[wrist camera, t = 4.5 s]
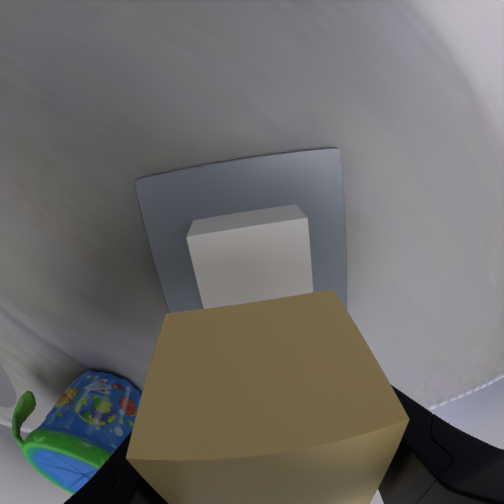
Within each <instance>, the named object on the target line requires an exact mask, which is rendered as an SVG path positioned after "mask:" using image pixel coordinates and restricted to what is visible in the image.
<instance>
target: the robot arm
mask: <svg viewBox="0 0 504 504" xmlns="http://www.w3.org/2000/svg"><path fill="white" fill-rule="evenodd" d="M390 385H391V384H390ZM391 386H392V385H391ZM392 388H393V390H394V392H395V394H396V395H397V397H398V399H399V401H400V403H401V404H402V406H403V408H404V410H405V412H406V414H407V415H408V417H409V422H408V424H407V427H406V429H405V432H404V434H403V437H402V439H401V441H400V444H399V446H398V448H397V450H396V453H395V455H394V457H393V459H392V461H391V463H390V465H389V468H388V470H387V472H386V474H385V476H384V478H383V480H382V481H381V483H380V485H379V487H378V490H379V492H380V494H381V497H382V500H383V502H384V504H504V450H503V449H499V448H497V447H494V446H492V445H490V444H488V443H485V442H483V441H481V440H479V439H477V438H475V437H473V436H471V435H469V434H467V433H465V432H463V431H461V430H459V429H457V428H455V427H453V426H451V425H450V424H449V423H447V422H445V421H444V420H442V419H441V418H439V417H438V416H436V415H435V414H432V413H431V412H430V411H429V410H427V409H426V408H424V407H423V406H421V405H420V404H418V403H417V402H415V401H414V400H412V399H411V398H409V397H408V396H407V395H405V394H404V393H402V392H401V391H399V390H398V389H396V388H395V387H393V386H392ZM132 430H133V429H132ZM131 434H132V431H131V432H130V433H129V434H128V435H127V437H126V438H125V439H124V440H123V441H122V443H121V444H120V445H119V446H118V447H117V449H116V450H115V451H114V452H113V453H112V455H111V456H110V457H109V458H108V460H106V462H105V463H104V464H103V465H102V466H101V468H100V469H99V470H98V471H97V472H96V473H95V474H94V475H93V476H92V478H91V479H90V480H89V481H88V482H86V483H85V484H84V485H83V486H82V487H81V488H80V489H79V490H78V491H77V492H76V493H75V494H74V495H73V496H71V497H70V498H69V499H68V500H67V501H66V502H65V503H64V504H169V503H168V502H167V501H165V500H164V499H163V498H162V497H161V496H160V495H159V494H158V493H157V492H156V491H155V490H154V489H153V488H152V486H151V485H150V484H149V483H148V482H147V481H146V480H145V479H144V478H143V477H142V476H141V475H140V474H139V473H138V471H137V470H136V469H135V468H134V467H133V466H132V465H131V464H130V462H129V461H128V460H127V459H126V455H127V451H128V447H129V443H130V439H131Z"/></svg>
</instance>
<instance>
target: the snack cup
mask: <svg viewBox="0 0 504 504" xmlns="http://www.w3.org/2000/svg"><path fill="white" fill-rule="evenodd" d="M141 396H142V395H141V393H140V392H139V391H138V390H137V389H136V388H134V387H133V386H132V384H131V383H130V382H129V381H128V380H126V379H121V378H118V377H116V376H114V375H112V374H109V373H104V372H95V371H91V370H87V371H86V372H85V373H83V374H82V375H80V376H78V377H77V378H76V379H75V380H74V381H73V382H72V383H71V385H70V386H69V387H68V388H67V390H66V391H65V392H64V394H63V395H62V396H61V398H60V399H59V400H58V401H57V403H56V404H55V406H54V407H53V409H52V410H51V411H50V412H49V413H48V415H47V416H46V419H45V421H44V422H43V423H42V424H41V425H40V426H39V427H38V428H37V429H35V430H34V431H32V432H31V433H30V434H29V435H28V436H27V438H26V440H25V441H23V440H22V438H21V436H20V428H21V425H22V423H23V422H24V421H25V420H26V419H27V417H28V416H29V415H30V414H31V413H32V412H33V410H34V409H35V406H36V401H35V397H34V395H33V393H32V392H30V391H27V392H26V393H25V394H23V395H22V396H21V398H20V399H19V402H18V404H17V406H16V408H15V411H14V415H13V419H12V431H13V435H14V438H15V439H16V441H17V443H18V445H19V446H20V448H21V449H22V451H23V454H24V456H25V458H26V459H27V460H28V462H29V463H30V464H31V465H32V466H33V467H34V468H35V469H36V470H37V471H38V472H39V473H40V474H41V475H43V476H44V477H45V478H47V479H48V480H50V481H51V482H52V483H54V484H56V485H57V486H59V487H60V488H62V489H64V490H66V491H68V492H70V493H72V494H75V493H76V492H77V491H78V490H79V489H80V488H81V487H82V486H83V485H84V484H85V483H86V482H88V481H89V480H90V479H91V478H92V476H93V475H94V474H95V473H96V472H97V471H98V470H99V469H100V468H101V466H102V465H103V464H104V463H105V462H106V460H108V458H109V457H110V456H111V455H112V453H113V452H114V451H115V450H116V449H117V447H118V446H119V445H120V444H121V443H122V441H123V440H124V439H125V438H126V437H127V435H128V434H129V433H130V432H131V431H132V429H133V426H134V422H135V419H136V415H137V411H138V407H139V403H140V400H141Z"/></svg>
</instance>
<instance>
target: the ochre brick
mask: <svg viewBox="0 0 504 504" xmlns="http://www.w3.org/2000/svg"><path fill="white" fill-rule="evenodd" d="M408 422H409V417H408V415H407V414H406V412H405V410H404V408H403V406H402V404H401V403H400V401H399V399H398V397H397V395H396V394H395V392H394V390H393V388H392V386H391V385H390V383H389V381H388V379H387V378H386V376H385V374H384V372H383V371H382V369H381V367H380V365H379V364H378V362H377V360H376V358H375V357H374V355H373V353H372V352H371V350H370V348H369V346H368V345H367V343H366V341H365V340H364V338H363V336H362V335H361V333H360V331H359V330H358V328H357V326H356V325H355V323H354V321H353V320H352V318H351V316H350V315H349V313H348V311H347V310H346V308H345V307H344V305H343V303H342V302H341V300H340V298H339V297H338V295H337V294H336V292H335V290H334V289H328V290H323V291H317V292H311V293H306V294H300V295H294V296H288V297H281V298H275V299H269V300H262V301H256V302H249V303H242V304H235V305H228V306H221V307H213V308H206V309H198V310H190V311H182V312H174V313H166V315H165V318H164V321H163V324H162V328H161V331H160V334H159V337H158V341H157V344H156V347H155V350H154V354H153V357H152V361H151V364H150V367H149V371H148V374H147V378H146V381H145V385H144V389H143V392H142V396H141V400H140V403H139V407H138V411H137V415H136V419H135V422H134V426H133V430H132V434H131V439H130V443H129V447H128V451H127V455H126V459H127V460H128V461H129V462H130V464H131V465H132V466H133V467H134V468H135V469H136V470H137V471H138V473H139V474H140V475H141V476H142V477H143V478H144V479H145V480H146V481H147V482H148V483H149V484H150V485H151V486H152V488H153V489H154V490H155V491H156V492H157V493H158V494H159V495H160V496H161V497H162V498H163V499H164V500H165V501H167V502H168V503H169V504H369V503H370V502H371V500H372V498H373V496H374V495H375V493H376V491H377V489H378V487H379V485H380V483H381V481H382V480H383V478H384V476H385V474H386V472H387V470H388V468H389V465H390V463H391V461H392V459H393V457H394V455H395V453H396V450H397V448H398V446H399V444H400V441H401V439H402V437H403V434H404V432H405V429H406V427H407V424H408Z"/></svg>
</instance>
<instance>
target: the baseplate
mask: <svg viewBox="0 0 504 504" xmlns="http://www.w3.org/2000/svg"><path fill="white" fill-rule="evenodd" d="M134 182H135V187H136V191H137V196H138V200H139V204H140V209H141V213H142V217H143V221H144V225H145V229H146V233H147V237H148V241H149V245H150V248H151V252H152V256H153V259H154V263H155V266H156V270H157V273H158V277H159V280H160V284H161V287H162V290H163V293H164V297H165V300H166V303H167V306H168V309H169V313H174V312H182V311H190V310H198V309H204V308H203V304H202V300H201V296H200V292H199V288H198V284H197V280H196V276H195V272H194V268H193V264H192V260H191V255H190V251H189V247H188V242H187V238H186V236H187V234H188V232H189V229H190V227H191V225H192V222H193V220H198V219H204V218H209V217H215V216H221V215H227V214H233V213H240V212H246V211H252V210H259V209H265V208H272V207H279V206H286V205H292V204H296V205H297V206H298V207H299V208H300V210H301V211H302V212H303V213H304V214H305V215H306V216H307V218H308V228H309V239H310V252H311V266H312V281H313V292H317V291H323V290H328V289H334V290H335V292H336V294H337V295H338V297H339V298H340V300H341V302H342V303H343V305H344V307H345V308H346V310H347V260H346V228H345V209H344V193H343V180H342V168H341V157H340V148H336V147H331V148H320V149H310V150H300V151H292V152H283V153H275V154H268V155H260V156H253V157H247V158H240V159H234V160H228V161H222V162H216V163H210V164H204V165H199V166H194V167H189V168H183V169H178V170H174V171H169V172H164V173H159V174H155V175H150V176H146V177H142V178H138V179H136V180H134Z"/></svg>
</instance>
